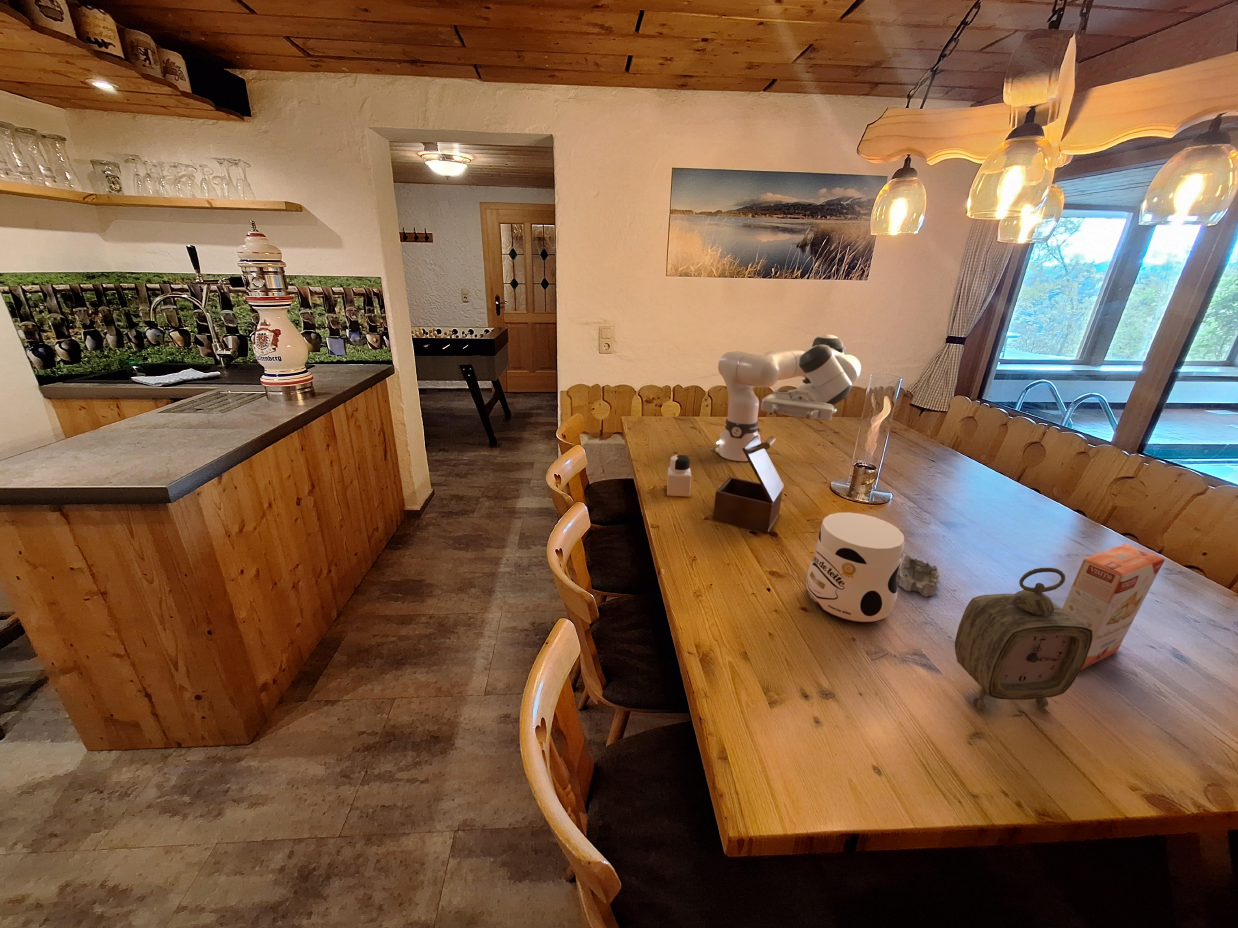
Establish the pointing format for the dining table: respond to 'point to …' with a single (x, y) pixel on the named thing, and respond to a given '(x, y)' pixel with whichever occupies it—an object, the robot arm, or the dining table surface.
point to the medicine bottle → (679, 476)
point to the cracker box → (1111, 595)
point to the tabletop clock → (1021, 644)
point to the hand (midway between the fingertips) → (791, 413)
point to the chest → (745, 505)
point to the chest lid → (764, 466)
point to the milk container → (856, 567)
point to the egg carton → (918, 576)
